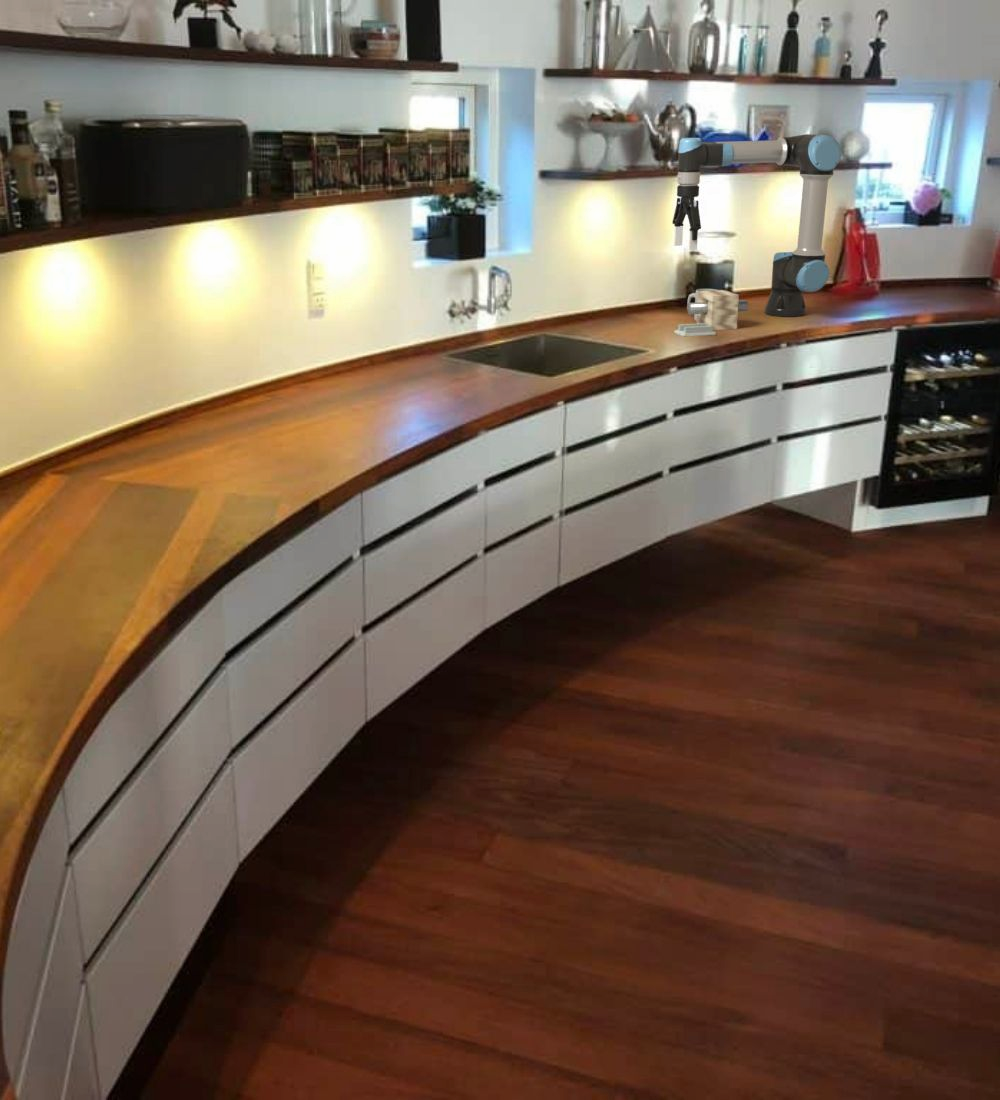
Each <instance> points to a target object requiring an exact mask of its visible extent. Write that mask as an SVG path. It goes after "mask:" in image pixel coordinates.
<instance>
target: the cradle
mask: <svg viewBox="0 0 1000 1100" xmlns="http://www.w3.org/2000/svg"><path fill="white" fill-rule="evenodd" d="M673 333H675V334H677V335H678V336H679V335H680V336H681V337H699V336H714V335H716V333H717V332H716V331H715V330H713V326H707V324H705V323H697V322H696V323H685V324H684V323H683V324H682V323H681V324H677V329H675V330H674V332H673Z"/></svg>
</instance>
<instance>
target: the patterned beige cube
mask: <svg viewBox="0 0 1000 1100" xmlns="http://www.w3.org/2000/svg"><path fill="white" fill-rule="evenodd" d="M739 296H740V294H737V293H734V292H731V291H728V290H725V289H716V290H713V291H698V302H708V313H706V314H697V321H696V324H697V323H705V324H707V326H713V331H723V330H736V329H738V313H739V312H738V301H739V300H740V299H739V298H740V297H739Z"/></svg>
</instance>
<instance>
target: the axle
mask: <svg viewBox="0 0 1000 1100" xmlns="http://www.w3.org/2000/svg"><path fill="white" fill-rule="evenodd" d="M748 309H749V301H748V300H747V299H739V301H738V313H739V312H741V313H742V312H747V311H748ZM686 312H687V314H688V315H694V314H706V313H708V302H698V303H695V302H690V303H688V305H686Z"/></svg>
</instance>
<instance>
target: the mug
mask: <svg viewBox="0 0 1000 1100" xmlns="http://www.w3.org/2000/svg"><path fill="white" fill-rule="evenodd" d="M713 290H717V289H716V288H715V289H714V288H697V289H696V290H695V292H692V293H690V294H688V298H687V305H688V303H692V302H691V301H692V298H694V303H698V291H713ZM687 305H686V306H687ZM693 320H694V322H697V314H693Z"/></svg>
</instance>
